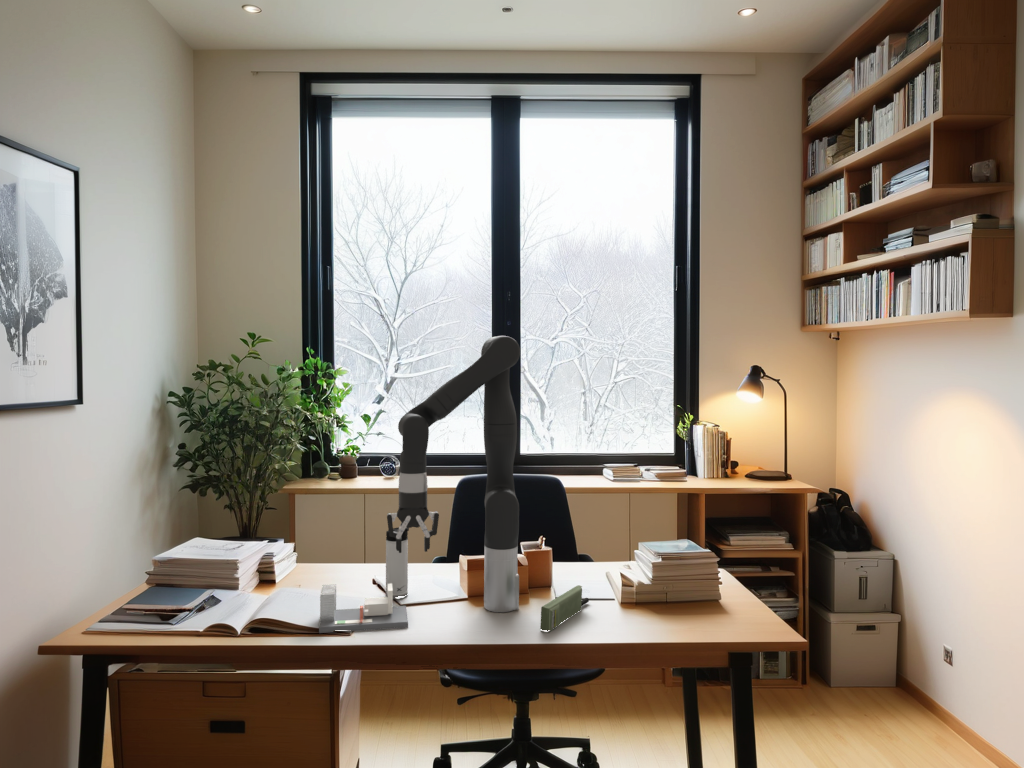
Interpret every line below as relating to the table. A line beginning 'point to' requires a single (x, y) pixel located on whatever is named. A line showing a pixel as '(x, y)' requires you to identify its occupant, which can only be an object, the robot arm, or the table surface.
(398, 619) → the gauge base
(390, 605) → the white block
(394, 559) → the travel mug
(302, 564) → the table surface
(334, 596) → the grey block
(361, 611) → the drag pointer
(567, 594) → the handheld radio
